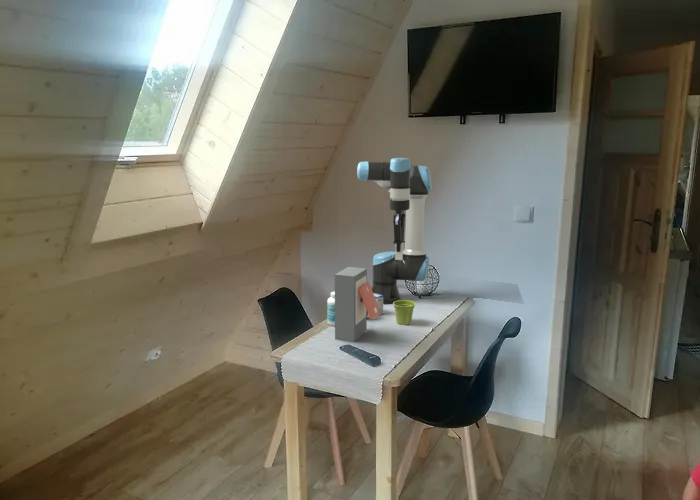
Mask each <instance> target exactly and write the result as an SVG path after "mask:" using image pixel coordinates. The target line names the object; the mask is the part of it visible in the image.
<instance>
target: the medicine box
mask: <svg viewBox="0 0 700 500" xmlns="http://www.w3.org/2000/svg"><path fill="white" fill-rule="evenodd" d="M373 294H374V296H375V299H376V301H377V304H378V307H379V309H380V312H381V313H380V314H379V315H378V316H380V315H382V314H384V304H383V295H380V294H375V293H373Z"/></svg>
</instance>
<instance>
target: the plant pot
mask: <svg viewBox="0 0 700 500" xmlns="http://www.w3.org/2000/svg"><path fill="white" fill-rule="evenodd" d="M392 305H393V308H394V312H395V319H396V323H397V324H398V325H402V326H403V325H404V326H407V325H410V324H412V318H413V312H414V308H415V307H416V302H415V301H412V300H407V299H405V300H404V299H400V300H398V301H395V302H393V303H392Z"/></svg>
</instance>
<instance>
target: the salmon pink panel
mask: <svg viewBox="0 0 700 500" xmlns="http://www.w3.org/2000/svg"><path fill="white" fill-rule="evenodd" d="M371 288H372V285H371V284H370V282H369V281H368V282H367V283H365V284H364V285H362V286H361V287H360V288H358V289H359V292H360V294H361V297H362V299H363V302H364V304H365V307H366V309H367V312H368V317H369V320H370V321H372V320H374V319H376V318H378V316H380V315H381V314H380V313H381V312H380V309H379V307H378V304H377V301H376V299H375V296H374V294H373V291H372V289H371ZM379 314H380V315H379Z"/></svg>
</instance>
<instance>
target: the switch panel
mask: <svg viewBox="0 0 700 500" xmlns="http://www.w3.org/2000/svg"><path fill="white" fill-rule="evenodd" d="M367 281H368V269H367V268H366V267H365V268H364V267H354V266H347V267H345V268H344V269H342V270H340V271H338V272H337V273H335V274H334V292H335V326H334V339H335V340H337V341H345V342H352V343H354V342H356V341H357V340H358V339H359V338H360V337H361V336H363V334H364V333H365V332H367V329H368V325H367V323H368V321H367V320H368V317H367V309H366V307H365V304H364V302H363V299H362V297H361V294H360V292H359V289H358V288H360V287H361V286H362V285H364V284H365V283H368V282H367Z"/></svg>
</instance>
